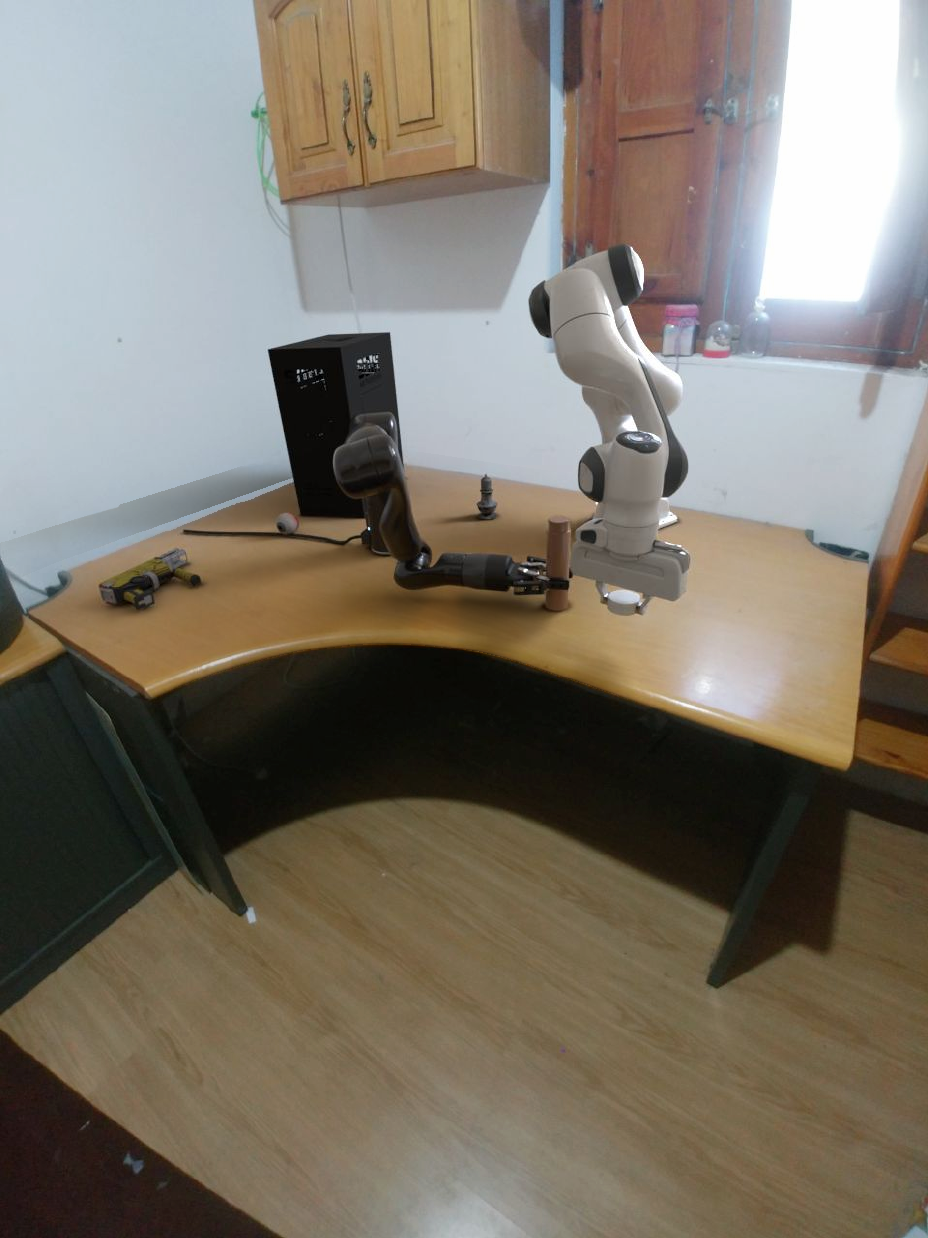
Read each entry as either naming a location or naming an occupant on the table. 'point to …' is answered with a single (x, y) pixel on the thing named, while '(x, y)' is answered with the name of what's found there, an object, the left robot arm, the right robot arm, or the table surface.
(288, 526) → the eyeball
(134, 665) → the table surface
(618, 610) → the lid
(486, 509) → the grey stone chess piece
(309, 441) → the cardboard box
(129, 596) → the toy gun
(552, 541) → the tan cylinder
